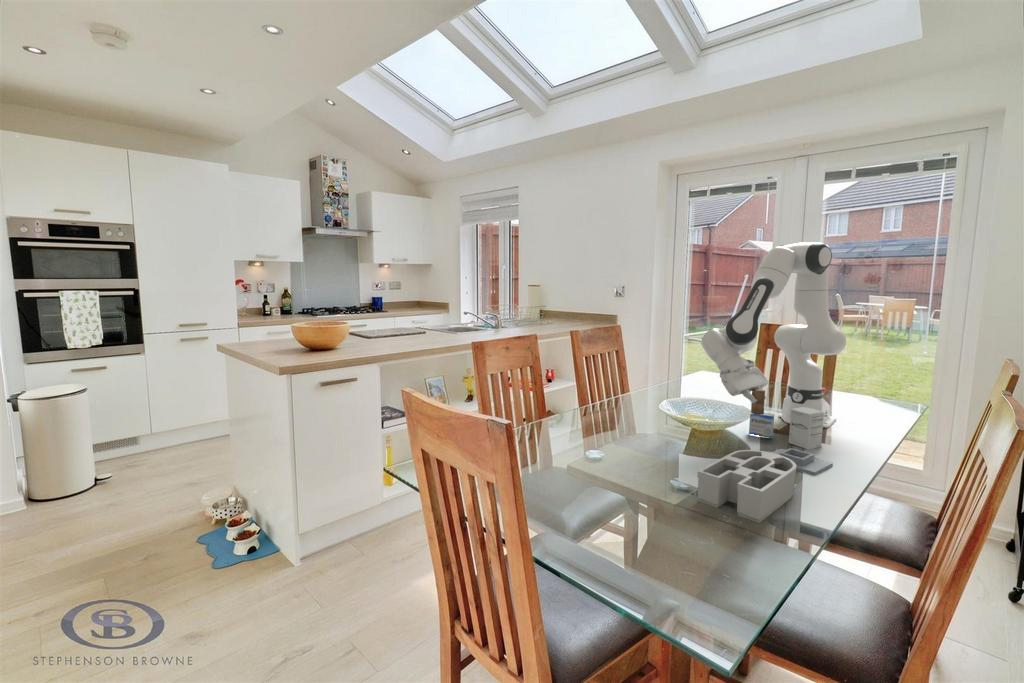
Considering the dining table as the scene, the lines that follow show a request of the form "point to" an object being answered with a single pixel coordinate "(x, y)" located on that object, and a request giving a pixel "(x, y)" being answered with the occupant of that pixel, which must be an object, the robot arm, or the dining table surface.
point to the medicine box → (761, 424)
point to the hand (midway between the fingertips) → (759, 400)
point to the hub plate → (804, 461)
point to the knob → (759, 405)
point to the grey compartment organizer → (748, 482)
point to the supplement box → (806, 427)
